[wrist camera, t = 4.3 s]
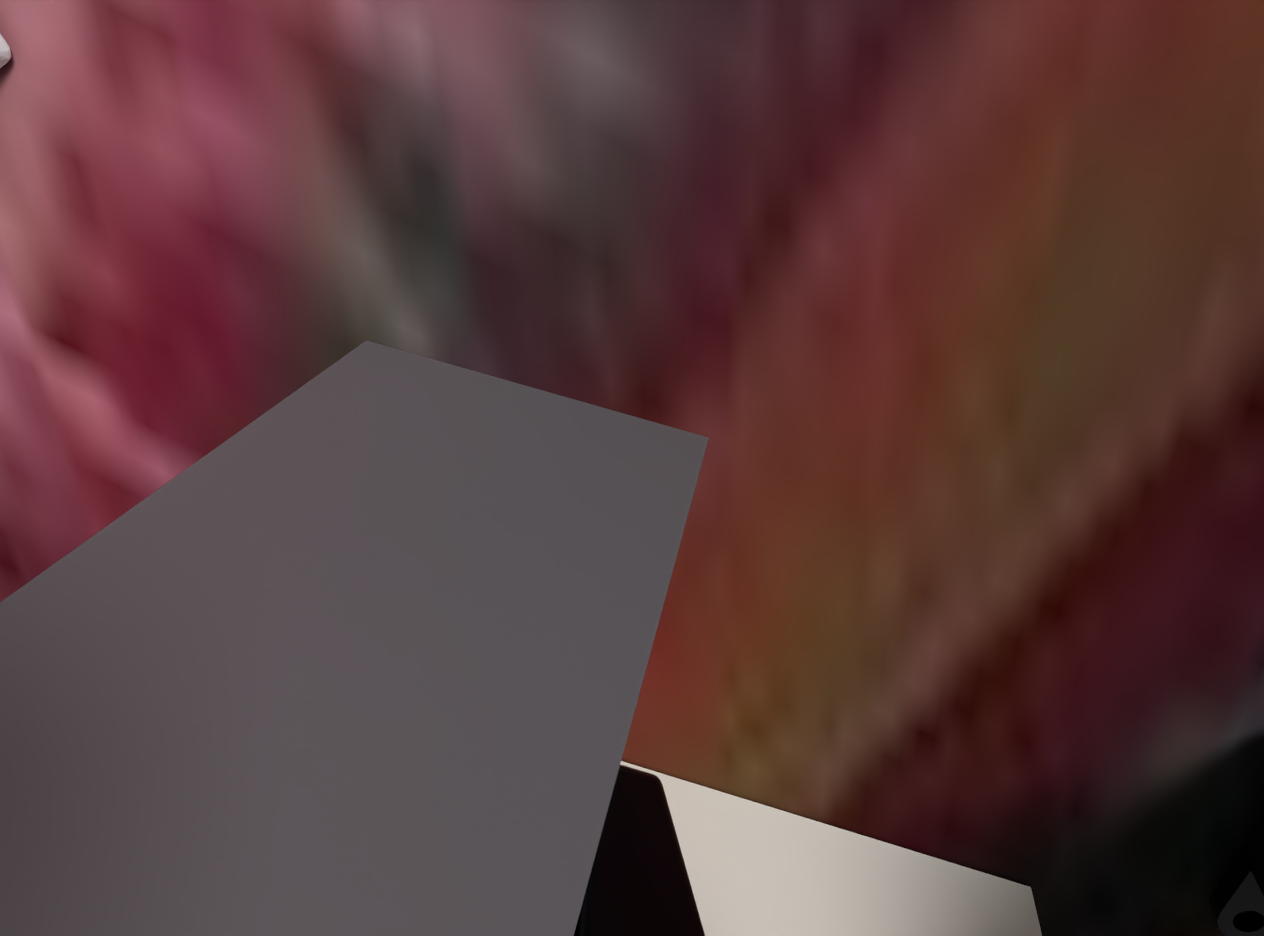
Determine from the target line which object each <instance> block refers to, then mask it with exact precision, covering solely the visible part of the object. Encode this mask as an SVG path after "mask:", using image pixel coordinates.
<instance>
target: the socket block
mask: <svg viewBox="0 0 1264 936" xmlns="http://www.w3.org/2000/svg"><path fill="white" fill-rule="evenodd" d="M620 765H624V766H628V767H631V768H634V769H637V770H641V771H644V772H647V773H650V774H654V775H656V776H657V777H658V778H659V779H660V780H661V783H662V785H663V788H664V792H665V795H666V799H667V802H668V806H669V809H670V813H671V816H672V820H673V824H674V827H675V831H676V834H677V838H678V841H679V845H680V848H681V852H682V855H683V859H684V862H685V866H686V870H687V873H688V877H689V880H690V884H691V887H692V891H693V894H694V898H695V901H696V905H697V909H698V912H699V916H700V919H701V923H702V926H703V930H704V933H705V936H1042V933H1041V929H1040V924H1039V920H1038V916H1037V911H1036V907H1035V903H1034V899H1033V894H1032V890H1031V887H1029V886H1026V885H1022V884H1019V883H1016V882H1013V881H1009V880H1006V879H1003V878H1000V877H996V876H993V875H990V874H987V873H983V872H980V871H977V870H974V869H970V868H967V867H964V866H961V865H957V864H954V863H951V862H948V861H944V860H941V859H938V858H935V857H931V856H928V855H925V854H922V853H918V852H915V851H912V850H909V849H905V848H902V847H899V846H896V845H892V844H889V843H886V842H883V841H879V840H876V839H873V838H870V837H866V836H863V835H860V834H857V833H853V832H850V831H847V830H844V829H840V828H837V827H834V826H831V825H827V824H824V823H821V822H818V821H814V820H811V819H808V818H805V817H801V816H798V815H795V814H792V813H788V812H785V811H782V810H779V809H775V808H772V807H769V806H766V805H762V804H759V803H756V802H753V801H749V800H746V799H743V798H740V797H736V796H733V795H730V794H727V793H723V792H720V791H717V790H714V789H710V788H707V787H704V786H701V785H697V784H694V783H691V782H688V781H684V780H681V779H678V778H675V777H671V776H668V775H665V774H662V773H658V772H655V771H652V770H649V769H646V768H642V767H639V766H636V765H633V764H629V763H626V762H623V761H621V763H620Z"/></svg>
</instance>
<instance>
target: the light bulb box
mask: <svg viewBox="0 0 1264 936" xmlns="http://www.w3.org/2000/svg"><path fill="white" fill-rule="evenodd" d="M11 57H12V56H11V51H10V47H9V45H8V44H7V42H6V41H5V39H4V38H3V36H2V35H1V33H0V68H1V67H2V66H4V65H5V64H6V63H7V62H8V61H9V60H10V58H11Z"/></svg>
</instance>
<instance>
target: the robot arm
mask: <svg viewBox="0 0 1264 936" xmlns="http://www.w3.org/2000/svg"><path fill="white" fill-rule="evenodd" d="M1209 903H1210V908H1211V912H1212V914H1213V916H1214V919H1215V921H1216V923H1217V926H1218V928H1219V929H1220V931H1221V932H1222V933H1223V934H1224V935H1225V936H1264V820H1263V821H1262V823H1261V824H1260V826H1259V827H1258V828H1257V830H1256V831H1255V833H1254V834H1253V836H1252V837H1251V838H1250V840H1249V841H1248V843H1247V844H1246V846H1245V847H1244V849H1243V852H1242V853H1241V855H1240V856H1239V858H1238V859H1237V861H1236V862H1235V863H1234V865H1233V866H1232V868H1231V869H1230V870H1229V872H1228V873H1227V875H1226V876H1225V878H1224V879H1223V880H1222V882H1221V883H1220V885H1219V886H1218V887H1217V889H1216V890H1215V892H1214V893H1213V895H1212V897H1211V900H1210V902H1209ZM1244 911H1250V912H1247V913H1243V914H1239V913H1240V912H1244ZM574 936H705V933H704V930H703V926H702V923H701V919H700V916H699V912H698V909H697V905H696V901H695V898H694V894H693V891H692V887H691V884H690V880H689V877H688V873H687V870H686V866H685V862H684V859H683V855H682V852H681V848H680V845H679V841H678V838H677V834H676V831H675V827H674V824H673V820H672V816H671V813H670V809H669V806H668V802H667V799H666V795H665V792H664V788H663V785H662V783H661V780H660V779H659V778H658V777H657V776H656V775H654V774H650V773H647V772H644V771H641V770H637V769H634V768H631V767H628V766H624V765H620V767H619V770H618V774H617V778H616V781H615V785H614V789H613V792H612V796H611V800H610V803H609V807H608V811H607V814H606V818H605V822H604V826H603V829H602V833H601V837H600V840H599V844H598V848H597V851H596V855H595V859H594V862H593V866H592V870H591V873H590V877H589V881H588V884H587V888H586V892H585V896H584V899H583V903H582V907H581V910H580V914H579V918H578V921H577V925H576V929H575V932H574Z"/></svg>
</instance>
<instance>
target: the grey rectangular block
mask: <svg viewBox="0 0 1264 936" xmlns="http://www.w3.org/2000/svg"><path fill="white" fill-rule="evenodd" d="M708 439H709V438H708V437H704V436H701V435H697V434H694V433H690V432H687V431H683V430H680V429H676V428H673V427H669V426H666V425H662V424H658V423H655V422H651V421H648V420H644V419H641V418H637V417H634V416H630V415H627V414H623V413H620V412H616V411H613V410H609V409H606V408H602V407H599V406H595V405H592V404H588V403H585V402H581V401H578V400H574V399H570V398H567V397H563V396H560V395H556V394H553V393H549V392H546V391H542V390H539V389H535V388H532V387H528V386H525V385H521V384H518V383H514V382H511V381H507V380H504V379H500V378H497V377H493V376H490V375H486V374H482V373H479V372H475V371H472V370H468V369H465V368H461V367H458V366H454V365H451V364H447V363H444V362H440V361H437V360H433V359H430V358H426V357H423V356H419V355H416V354H412V353H409V352H405V351H402V350H398V349H394V348H391V347H387V346H384V345H380V344H377V343H373V342H370V341H365V342H364V343H362V344H361V345H359V346H358V347H357V348H355V349H354V350H352V351H351V352H350V353H348V354H347V355H345V356H344V357H343V358H341V359H340V360H338V361H337V362H336V363H334V364H333V365H331V366H330V367H329V368H327V369H326V370H324V371H323V372H322V373H320V374H319V375H317V376H316V377H315V378H313V379H312V380H310V381H309V382H308V383H306V384H305V385H303V386H302V387H301V388H299V389H298V390H296V391H295V392H294V393H292V394H291V395H289V396H288V397H287V398H285V399H284V400H283V401H281V402H280V403H278V404H277V405H276V406H274V407H273V408H271V409H270V410H269V411H267V412H266V413H264V414H263V415H262V416H260V417H259V418H257V419H256V420H255V421H253V422H252V423H250V424H249V425H248V426H246V427H245V428H243V429H242V430H241V431H239V432H238V433H236V434H235V435H234V436H232V437H231V438H229V439H228V440H227V441H225V442H224V443H222V444H221V445H220V446H218V447H217V448H215V449H214V450H213V451H211V452H210V453H208V454H207V455H206V456H204V457H203V458H201V459H200V460H199V461H197V462H196V463H194V464H193V465H192V466H190V467H189V468H187V469H186V470H185V471H183V472H182V473H180V474H179V475H178V476H176V477H175V478H173V479H172V480H171V481H169V482H168V483H166V484H165V485H164V486H162V487H161V488H159V489H158V490H157V491H155V492H154V493H152V494H151V495H150V496H148V497H147V498H145V499H144V500H143V501H141V502H140V503H138V504H137V505H136V506H134V507H133V508H131V509H130V510H129V511H127V512H126V513H124V514H123V515H122V516H120V517H119V518H117V519H116V520H115V521H113V522H112V523H111V524H109V525H108V526H106V527H105V528H104V529H102V530H101V531H99V532H98V533H97V534H95V535H94V536H92V537H91V538H90V539H88V540H87V541H85V542H84V543H83V544H81V545H80V546H78V547H77V548H76V549H74V550H73V551H71V552H70V553H69V554H67V555H66V556H64V557H63V558H62V559H60V560H59V561H57V562H56V563H55V564H53V565H52V566H50V567H49V568H48V569H46V570H45V571H43V572H42V573H41V574H39V575H38V576H36V577H35V578H34V579H32V580H31V581H29V582H28V583H27V584H25V585H24V586H22V587H21V588H20V589H18V590H17V591H15V592H14V593H13V594H11V595H10V596H8V597H7V598H6V599H4V600H3V601H1V602H0V936H574V932H575V929H576V925H577V921H578V918H579V914H580V910H581V907H582V903H583V899H584V896H585V892H586V888H587V884H588V881H589V877H590V873H591V870H592V866H593V862H594V859H595V855H596V851H597V848H598V844H599V840H600V837H601V833H602V829H603V826H604V822H605V818H606V814H607V811H608V807H609V803H610V800H611V796H612V792H613V789H614V785H615V781H616V778H617V774H618V770H619V767H620V763H621V759H622V756H623V752H624V748H625V744H626V741H627V737H628V733H629V730H630V726H631V722H632V719H633V715H634V711H635V708H636V704H637V700H638V697H639V693H640V689H641V686H642V682H643V678H644V674H645V671H646V667H647V663H648V660H649V656H650V652H651V649H652V645H653V641H654V638H655V634H656V630H657V627H658V623H659V619H660V616H661V612H662V608H663V605H664V601H665V597H666V593H667V590H668V586H669V582H670V579H671V575H672V571H673V568H674V564H675V560H676V557H677V553H678V549H679V546H680V542H681V538H682V535H683V531H684V527H685V523H686V520H687V516H688V512H689V509H690V505H691V501H692V498H693V494H694V490H695V487H696V483H697V479H698V476H699V472H700V468H701V465H702V461H703V457H704V453H705V450H706V446H707V442H708Z"/></svg>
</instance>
